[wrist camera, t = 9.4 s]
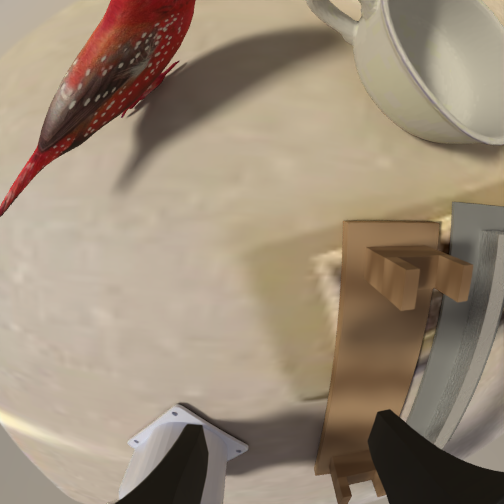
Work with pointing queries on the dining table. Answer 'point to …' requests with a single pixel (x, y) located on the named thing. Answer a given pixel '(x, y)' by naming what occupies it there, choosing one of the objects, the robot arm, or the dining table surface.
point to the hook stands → (380, 335)
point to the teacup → (429, 65)
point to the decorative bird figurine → (108, 77)
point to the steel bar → (472, 338)
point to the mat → (454, 311)
